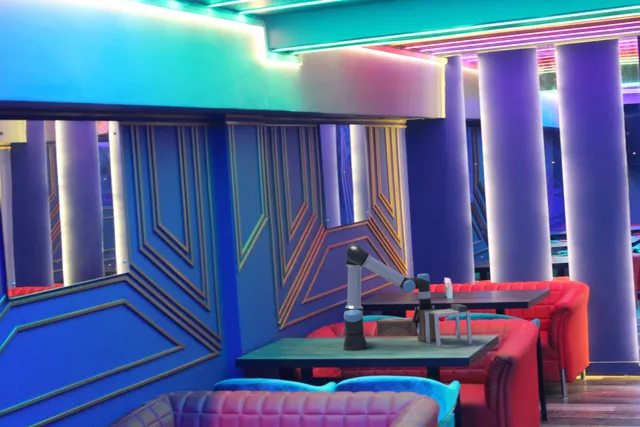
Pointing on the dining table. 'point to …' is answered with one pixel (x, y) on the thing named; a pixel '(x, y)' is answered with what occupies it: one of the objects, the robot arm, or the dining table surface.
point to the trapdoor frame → (456, 326)
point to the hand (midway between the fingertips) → (427, 332)
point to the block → (422, 325)
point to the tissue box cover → (396, 327)
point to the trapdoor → (453, 309)
